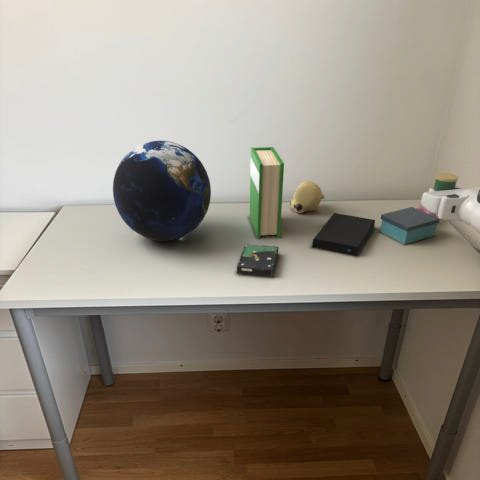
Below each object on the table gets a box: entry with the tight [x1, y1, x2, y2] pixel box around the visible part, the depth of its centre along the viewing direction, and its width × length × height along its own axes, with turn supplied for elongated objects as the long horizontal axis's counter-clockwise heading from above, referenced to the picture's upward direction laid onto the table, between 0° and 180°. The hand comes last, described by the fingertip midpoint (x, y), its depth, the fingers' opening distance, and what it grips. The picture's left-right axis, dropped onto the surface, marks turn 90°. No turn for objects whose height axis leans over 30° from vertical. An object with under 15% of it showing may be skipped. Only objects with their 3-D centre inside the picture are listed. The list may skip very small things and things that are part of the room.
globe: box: [112, 140, 212, 242], centre depth 158 cm, size 30×30×30 cm
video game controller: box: [415, 204, 437, 217], centre depth 177 cm, size 10×5×7 cm, turn 179°
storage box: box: [379, 206, 441, 245], centre depth 168 cm, size 14×12×6 cm
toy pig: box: [289, 180, 326, 214], centre depth 183 cm, size 10×12×11 cm
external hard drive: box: [311, 212, 376, 257], centre depth 166 cm, size 14×23×3 cm, turn 155°
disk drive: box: [236, 243, 279, 277], centre depth 150 cm, size 10×3×15 cm
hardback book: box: [249, 146, 285, 239], centre depth 167 cm, size 18×7×24 cm, turn 7°
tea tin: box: [433, 172, 459, 191], centre depth 156 cm, size 6×6×10 cm
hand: (441, 189), depth 156 cm, fingers closed on tea tin, 6 cm apart
